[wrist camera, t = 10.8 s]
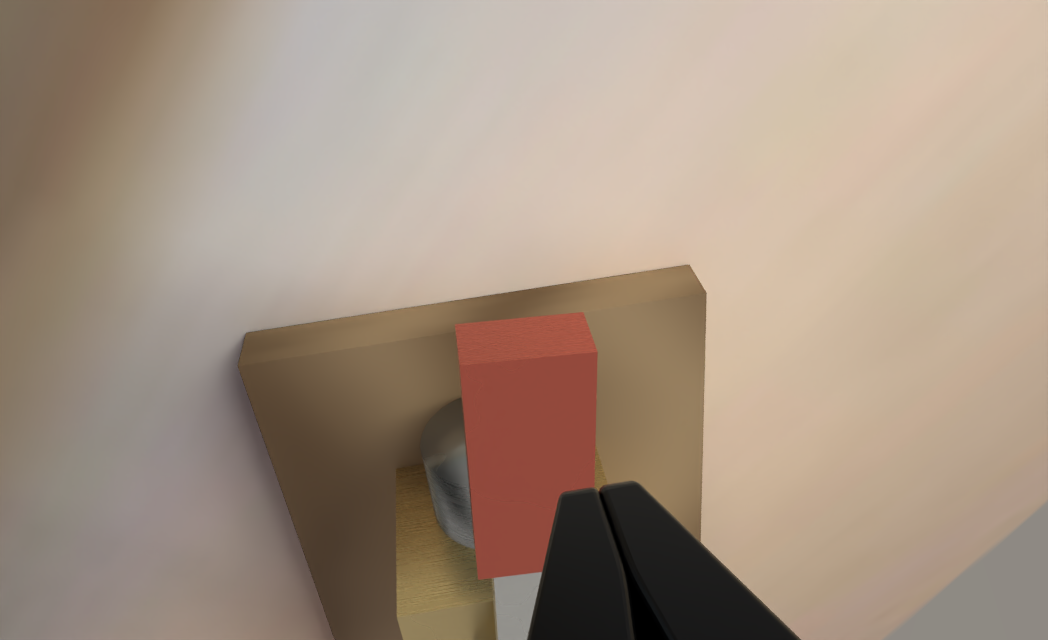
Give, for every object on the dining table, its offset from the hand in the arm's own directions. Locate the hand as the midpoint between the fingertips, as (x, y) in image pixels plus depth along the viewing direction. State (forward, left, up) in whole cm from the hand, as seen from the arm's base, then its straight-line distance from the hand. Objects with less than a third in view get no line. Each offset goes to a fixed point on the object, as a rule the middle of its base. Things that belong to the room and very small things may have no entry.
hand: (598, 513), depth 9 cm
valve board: (-1, -12, -13) cm, 18 cm away
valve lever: (-1, -7, -6) cm, 9 cm away
